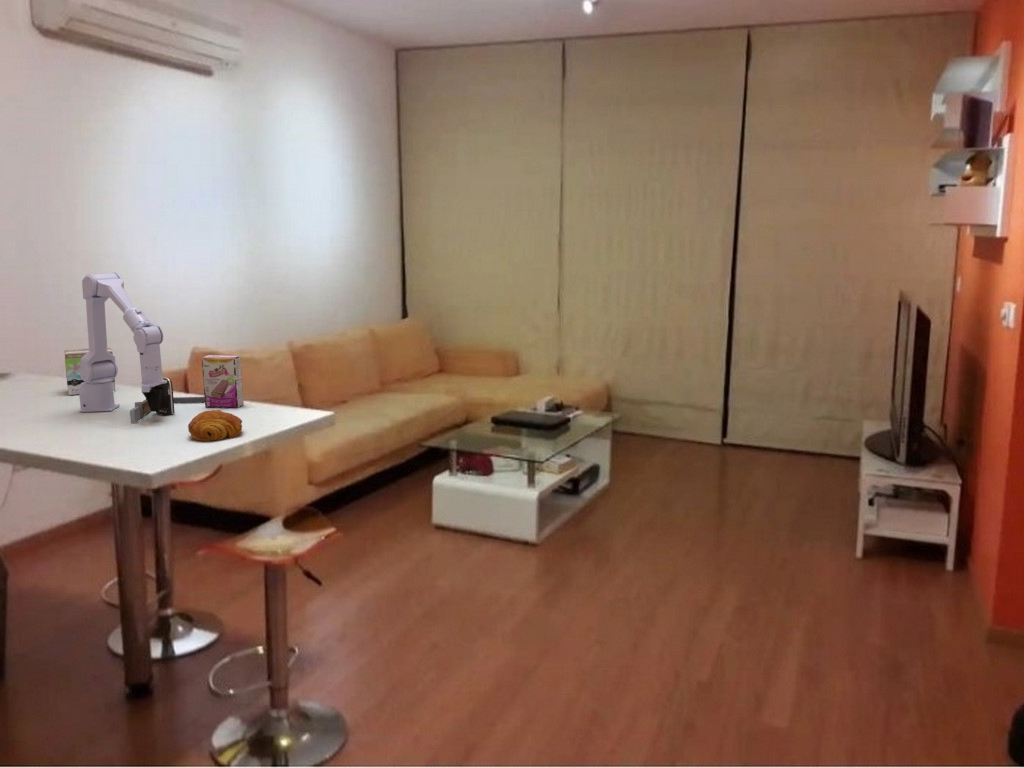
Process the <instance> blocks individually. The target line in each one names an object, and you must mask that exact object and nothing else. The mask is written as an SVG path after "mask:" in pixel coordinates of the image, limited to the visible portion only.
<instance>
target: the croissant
mask: <svg viewBox="0 0 1024 768" xmlns="http://www.w3.org/2000/svg"><path fill="white" fill-rule="evenodd" d="M242 423H243V420H242V419H241V418H240V417H238V416H236V415H234V414H233V413H230V412H225V411H222V410H220V409H214V410H204V411H201V412H200V413H198V414H197V415H195V416H194V417H193V418H192V419H191V420H190V421H189V423H188V425H187V428H188V433H189V434H190V436H191V437H192V438H194V439H195V440H196V441H203V442H211V440H213V441H220V440H225V439H232V438H233V439H234V438H235V437H237V436H238V435H239V434H241V432H242V431H243V425H242ZM224 438H225V439H224Z"/></svg>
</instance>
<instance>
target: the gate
mask: <svg viewBox="0 0 1024 768" xmlns="http://www.w3.org/2000/svg"><path fill="white" fill-rule="evenodd" d="M141 402H142V411H143V417H144V416H145V415H146V414H148V413H150V412H151V410H150V407H149V404H148V402H147V399H146V398H145V399H144V400H142V401H141Z"/></svg>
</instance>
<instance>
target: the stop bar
mask: <svg viewBox="0 0 1024 768" xmlns="http://www.w3.org/2000/svg"><path fill="white" fill-rule="evenodd" d="M173 398H174V403H180V404H203V403H202V402H204V403H205V397H204V396H180V397H179V396H176V397H174V396H173Z"/></svg>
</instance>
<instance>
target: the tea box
mask: <svg viewBox="0 0 1024 768" xmlns="http://www.w3.org/2000/svg"><path fill="white" fill-rule="evenodd" d="M107 351H108V352H109V353H111V354H112V355H113V356H114V354H113V350H112V347H107ZM88 352H89V348H81V349H65V350H64V363H65V365H64V366H65V374H66V375H65V376H66V387H67V393H68V396H75V395H79V387H80V384H81V383H83V382H84V381H83V380H82V378H81V376H80V373H79V369H80V365H81V358H82V357H83V356H84V355H85V354H87V353H88ZM112 382H113V391H115V392H116V377H115V378H114V381H112Z"/></svg>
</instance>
